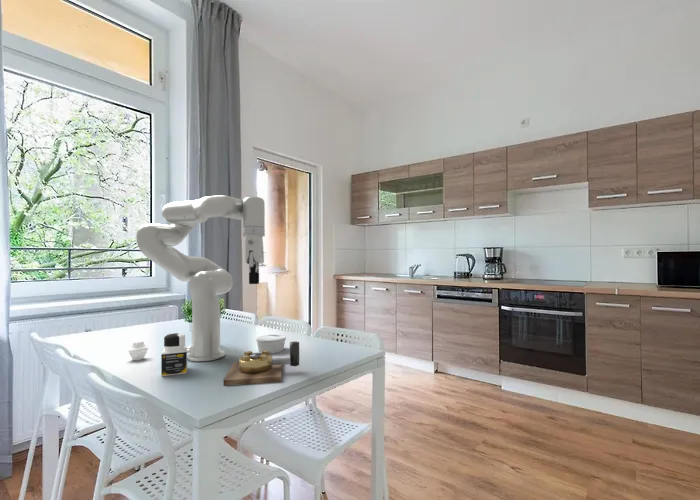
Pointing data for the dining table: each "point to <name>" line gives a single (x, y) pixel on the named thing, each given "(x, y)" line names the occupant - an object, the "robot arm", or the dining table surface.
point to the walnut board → (252, 376)
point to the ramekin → (271, 343)
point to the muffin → (138, 350)
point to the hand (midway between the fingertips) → (254, 283)
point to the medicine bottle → (174, 355)
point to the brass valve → (267, 360)
